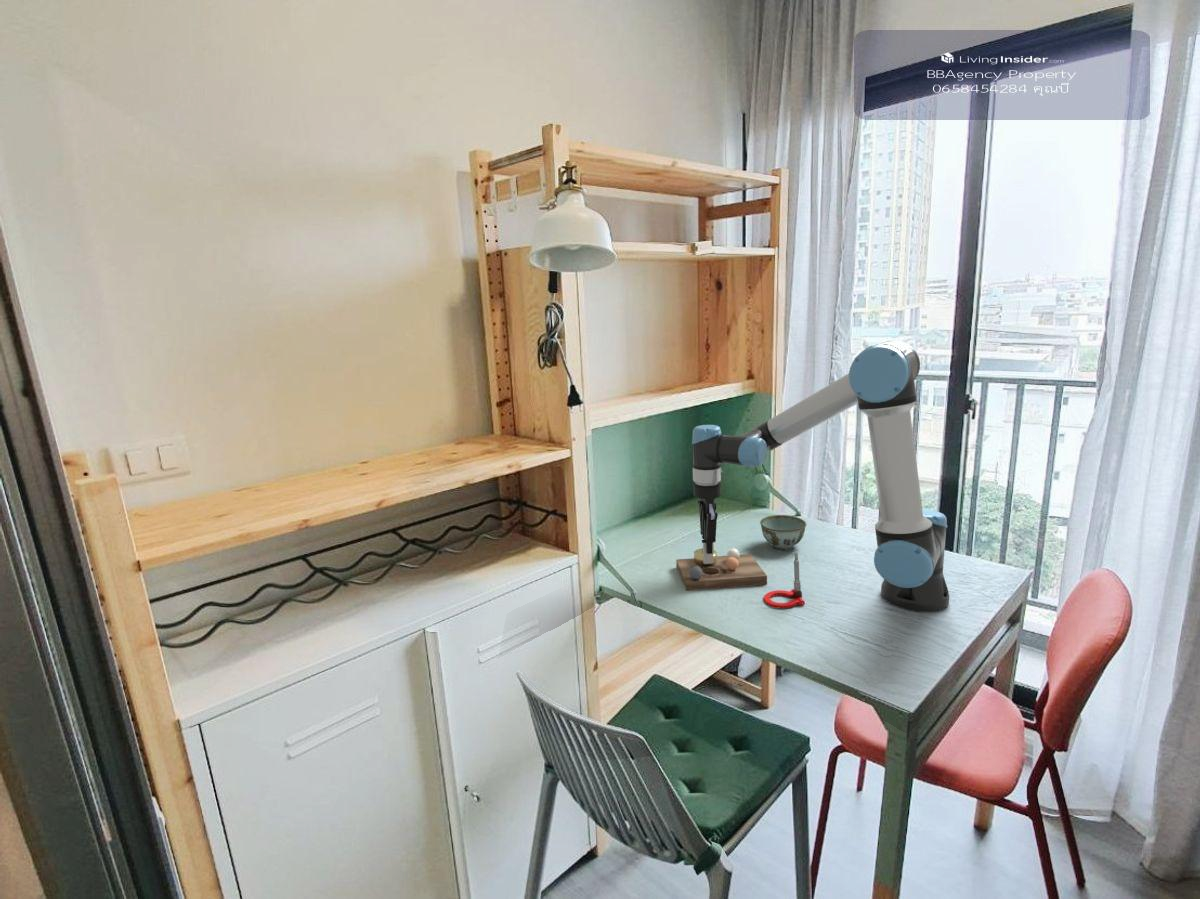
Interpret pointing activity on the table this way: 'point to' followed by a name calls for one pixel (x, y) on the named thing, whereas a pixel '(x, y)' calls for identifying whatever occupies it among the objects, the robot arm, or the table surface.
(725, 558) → the brown wooden flat board
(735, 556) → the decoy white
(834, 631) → the table surface
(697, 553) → the cover
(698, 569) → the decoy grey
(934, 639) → the table surface
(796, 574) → the tow hook
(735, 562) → the ball
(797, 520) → the bowl
